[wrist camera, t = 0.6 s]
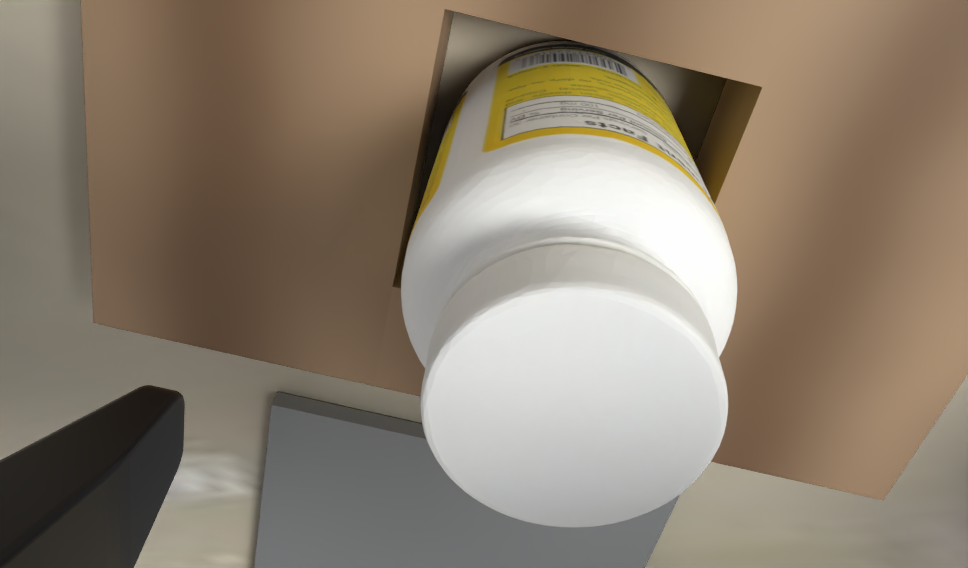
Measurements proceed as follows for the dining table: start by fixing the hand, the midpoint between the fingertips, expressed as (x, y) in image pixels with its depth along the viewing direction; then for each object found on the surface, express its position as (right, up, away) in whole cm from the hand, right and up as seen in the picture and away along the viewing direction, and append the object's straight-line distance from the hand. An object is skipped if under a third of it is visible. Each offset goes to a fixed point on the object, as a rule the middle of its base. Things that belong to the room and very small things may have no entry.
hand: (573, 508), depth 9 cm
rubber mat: (-2, -6, +17) cm, 18 cm away
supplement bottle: (+1, +6, +10) cm, 12 cm away
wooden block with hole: (+1, +6, +10) cm, 11 cm away
